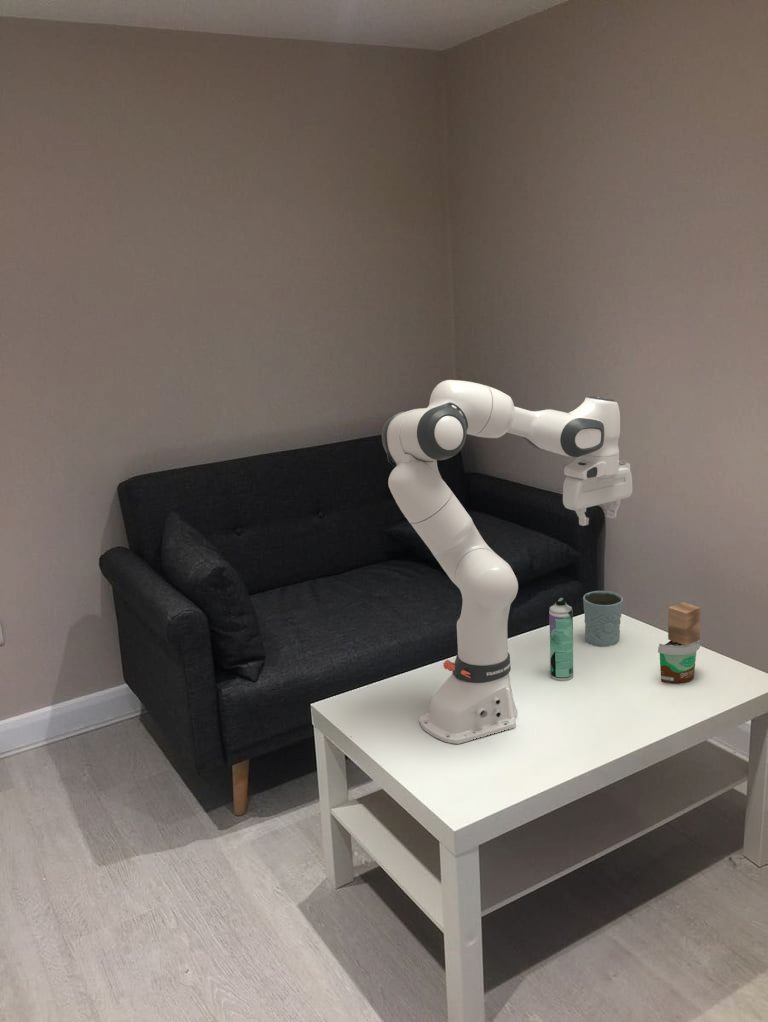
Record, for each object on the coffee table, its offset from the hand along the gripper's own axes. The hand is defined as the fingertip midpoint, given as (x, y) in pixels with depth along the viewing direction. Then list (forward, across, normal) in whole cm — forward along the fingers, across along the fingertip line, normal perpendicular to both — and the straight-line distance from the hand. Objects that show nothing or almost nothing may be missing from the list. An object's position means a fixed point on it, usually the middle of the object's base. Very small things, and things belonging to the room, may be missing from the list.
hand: (597, 521), depth 219 cm
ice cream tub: (+36, -9, +20) cm, 42 cm away
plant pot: (+37, -12, -8) cm, 39 cm away
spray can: (+37, +11, +1) cm, 39 cm away
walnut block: (+26, -8, +20) cm, 34 cm away
